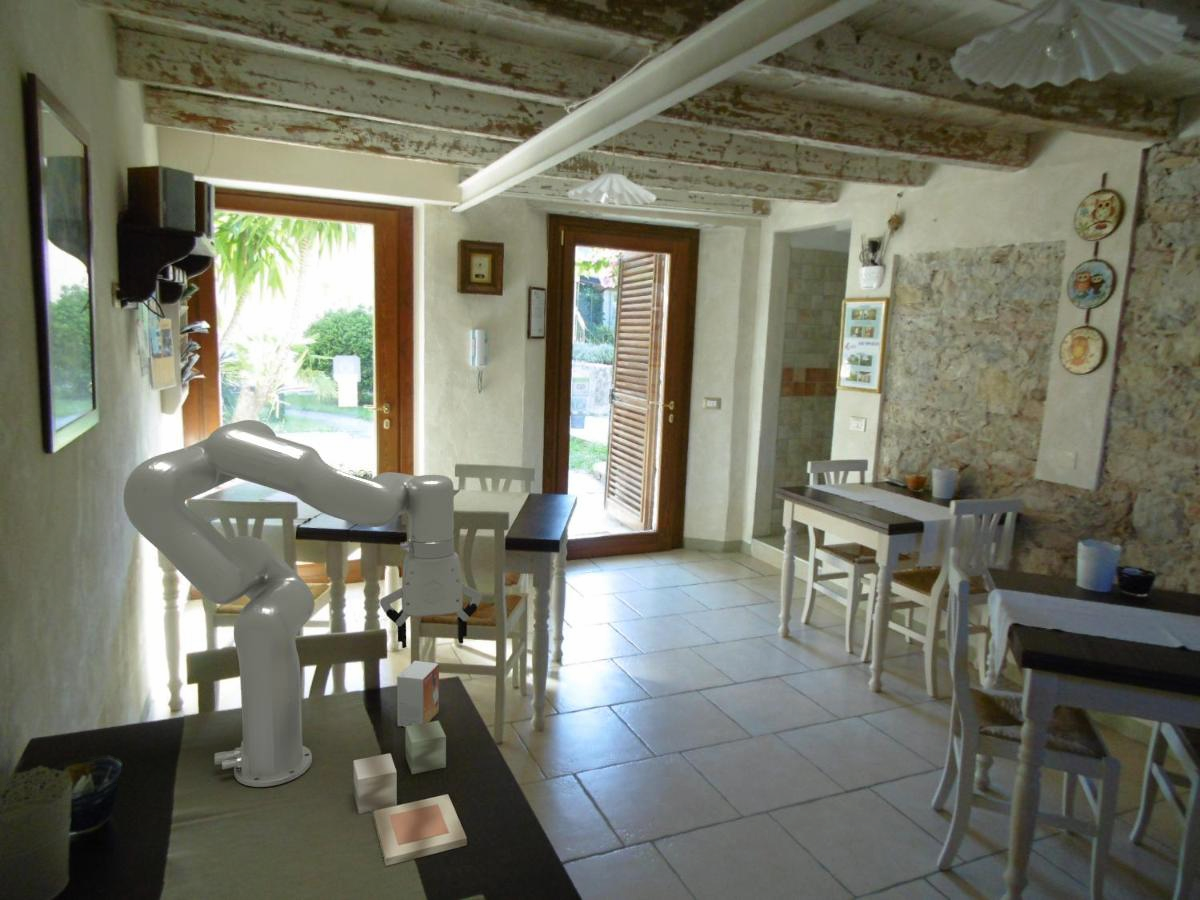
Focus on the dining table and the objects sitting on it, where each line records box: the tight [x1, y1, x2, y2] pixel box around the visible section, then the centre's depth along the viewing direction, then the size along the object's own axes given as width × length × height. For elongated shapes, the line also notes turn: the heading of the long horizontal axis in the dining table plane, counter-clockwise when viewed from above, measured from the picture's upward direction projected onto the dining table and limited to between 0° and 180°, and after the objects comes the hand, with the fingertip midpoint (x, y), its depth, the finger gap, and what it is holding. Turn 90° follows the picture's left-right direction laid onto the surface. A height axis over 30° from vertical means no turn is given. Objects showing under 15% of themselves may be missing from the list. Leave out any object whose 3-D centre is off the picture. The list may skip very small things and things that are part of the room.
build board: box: [372, 793, 468, 867], centre depth 116 cm, size 12×12×1 cm
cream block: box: [353, 753, 398, 814], centre depth 124 cm, size 6×6×6 cm
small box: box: [396, 660, 440, 728], centre depth 150 cm, size 8×6×10 cm
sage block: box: [404, 720, 447, 775], centre depth 135 cm, size 6×6×6 cm
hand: (432, 642), depth 131 cm, fingers open, 9 cm apart
